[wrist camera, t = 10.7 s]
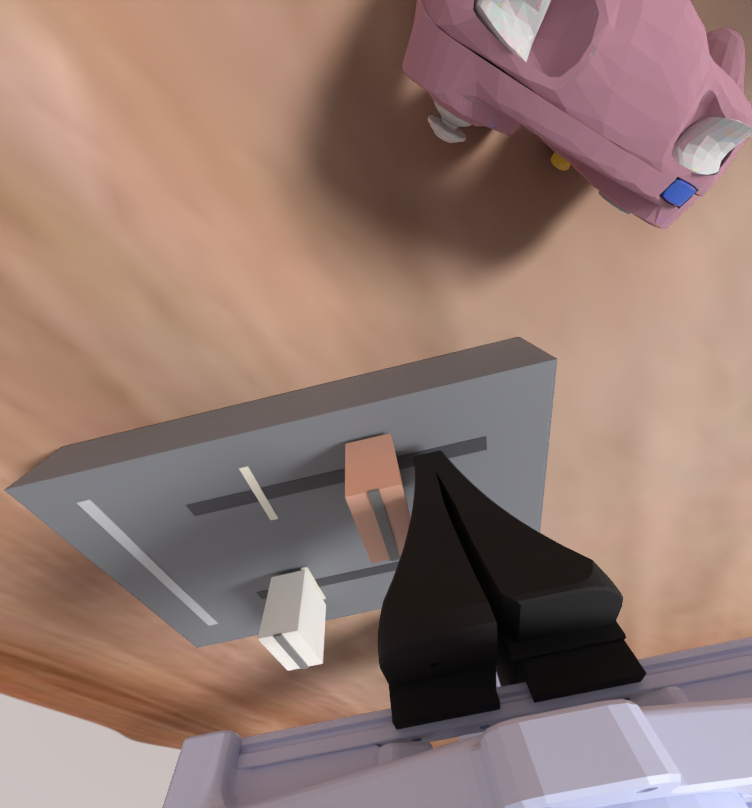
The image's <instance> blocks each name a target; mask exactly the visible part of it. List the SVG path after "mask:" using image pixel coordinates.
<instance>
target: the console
mask: <svg viewBox="0 0 752 808" xmlns="http://www.w3.org/2000/svg"><path fill="white" fill-rule="evenodd" d="M556 366H557V358H555V357H553V356H551V355H550V354H548V353H546V352H545V351H543V350H541V349H539V348H538V347H536V346H534V345H533V344H531V343H529V342H527V341H526V340H524V339H522V338H521V337H517V338H513V339H508V340H504V341H500V342H496V343H492V344H488V345H484V346H479V347H475V348H471V349H467V350H463V351H459V352H454V353H450V354H446V355H442V356H438V357H434V358H429V359H425V360H421V361H417V362H413V363H409V364H405V365H400V366H396V367H392V368H388V369H384V370H380V371H375V372H371V373H367V374H363V375H359V376H355V377H350V378H346V379H342V380H338V381H334V382H330V383H326V384H321V385H317V386H313V387H309V388H305V389H301V390H296V391H292V392H288V393H284V394H280V395H276V396H271V397H267V398H263V399H259V400H255V401H251V402H246V403H242V404H238V405H234V406H230V407H226V408H222V409H217V410H213V411H209V412H205V413H201V414H197V415H192V416H188V417H184V418H180V419H176V420H172V421H167V422H163V423H159V424H155V425H151V426H147V427H143V428H138V429H134V430H130V431H126V432H122V433H118V434H113V435H109V436H105V437H101V438H97V439H93V440H88V441H84V442H80V443H76V444H72V445H68V446H63V447H61V448H60V449H59V450H57V451H56V452H55V453H53V454H52V455H51V456H49V457H48V458H46V459H45V460H44V461H42V462H41V463H40V464H38V465H37V466H36V467H34V468H33V469H32V470H30V471H29V472H28V473H26V474H25V475H24V476H22V477H21V478H20V479H18V480H17V481H15V482H14V483H13V484H11V485H10V486H9V487H7V488H6V489H5V491H6V492H7V493H9V494H10V495H11V496H12V497H14V498H15V499H16V500H17V501H18V502H20V503H21V504H22V505H23V506H25V507H26V508H27V509H28V510H29V511H31V512H32V513H33V514H34V515H36V516H37V517H38V518H39V519H40V520H42V521H43V522H44V523H45V524H47V525H48V526H49V527H50V528H51V529H53V530H54V531H55V532H56V533H57V534H59V535H60V536H61V537H62V538H64V539H65V540H66V541H67V542H68V543H70V544H71V545H72V546H73V547H75V548H76V549H77V550H78V551H79V552H81V553H82V554H83V555H84V556H86V557H87V558H88V559H89V560H90V561H92V562H93V563H94V564H95V565H97V566H98V567H99V568H100V569H101V570H103V571H104V572H105V573H106V574H108V575H109V576H110V577H111V578H112V579H114V580H115V581H116V582H117V583H119V584H120V585H121V586H122V587H123V588H125V589H126V590H127V591H128V592H130V593H131V594H132V595H133V596H134V597H136V598H137V599H138V600H139V601H140V602H142V603H143V604H144V605H145V606H147V607H148V608H149V609H150V610H151V611H153V612H154V613H155V614H156V615H158V616H159V617H160V618H161V619H162V620H164V621H165V622H166V623H167V624H169V625H170V626H171V627H172V628H173V629H175V630H176V631H177V632H178V633H180V634H181V635H182V636H183V637H184V638H186V639H187V640H188V641H189V642H191V643H192V644H193V645H194V646H195V647H197V648H198V647H203V646H208V645H212V644H217V643H222V642H227V641H231V640H236V639H241V638H245V637H250V636H255V635H259V631H260V627H261V622H262V618H263V613H264V609H265V604H266V600H267V595H268V590H269V586H270V581H271V577H274V576H279V575H284V574H288V573H293V572H297V571H302V570H305V571H306V572H307V574H308V576H309V577H310V579H311V581H312V582H313V584H314V586H315V587H316V589H317V590H318V592H319V594H320V595H321V597H322V599H323V600H324V602H325V604H326V615H325V621H326V620H330V619H335V618H340V617H345V616H349V615H354V614H359V613H364V612H368V611H373V610H378V609H382V604H383V600H384V598H385V596H386V593H387V591H388V589H389V586H390V584H391V582H392V579H393V577H394V574H395V571H396V569H397V566H398V563H399V560H400V559H399V560H394V561H390V560H385V561H381V562H376V563H371V562H370V559H369V557H368V554H367V552H366V549H365V547H364V544H363V541H362V539H361V536H360V534H359V531H358V529H357V526H356V524H355V521H354V519H353V516H352V514H351V511H350V509H349V506H348V503H347V501H346V498H345V444H346V443H351V442H355V441H359V440H364V439H368V438H372V437H376V436H381V435H385V434H389V433H391V437H392V441H393V445H394V449H395V453H396V458H397V462H398V466H399V470H400V474H401V478H402V482H403V486H404V491H405V495H406V499H407V503H408V508H409V512H410V516H411V514H412V507H413V499H414V488H415V467H414V462H413V458H414V456H417V455H421V454H426V453H430V452H435V451H439V450H441V451H443V452H444V454H445V455H446V456H447V457H448V459H449V460H450V461H451V462H452V463H453V464H454V465H455V466H456V468H457V469H458V470H459V471H460V472H461V473H462V474H463V475H464V476H465V477H466V478H467V479H468V480H469V481H470V482H471V483H473V484H474V485H475V486H476V487H477V488H478V489H479V490H480V491H481V492H483V493H484V494H485V495H486V496H487V497H489V498H490V499H491V500H492V501H494V502H495V503H496V504H497V505H499V506H500V507H501V508H503V509H504V510H505V511H507V512H508V513H510V514H511V515H513V516H514V517H515V518H517V519H518V520H520V521H521V522H523V523H525V524H526V525H528V526H530V527H531V528H533V529H534V530H536V531H538V532H539V533H540V527H541V517H542V507H543V497H544V487H545V477H546V467H547V457H548V447H549V437H550V427H551V417H552V407H553V396H554V386H555V376H556Z"/></svg>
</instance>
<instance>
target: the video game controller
mask: <svg viewBox="0 0 752 808" xmlns="http://www.w3.org/2000/svg"><path fill="white" fill-rule="evenodd" d="M745 61H746V56H745V47H744V40H743V38H742V37H741V35H740V34H739V33H738V32H736V31H734V30H733V29H731V28H729V27H724V28H720V29H717V30H714V31H712V32H709V33H706V29H705V27H704V25H703V23H702V22H701V20H700V18H699V16H698V14H697V12H696V10H695V8H694V7H693V5H692V3H691V1H690V0H417V3H416V10H415V17H414V24H413V28H412V32H411V35H410V39H409V42H408V46H407V50H406V53H405V57H404V61H403V64H402V69H403V71H404V73H405V74H406V75H407V76H408V77H409V78H410V79H411V80H412V81H414V82H415V83H417V84H418V85H419V86H421V87H422V88H423V89H425V90H426V91H427V93H428V94H429V95H430V96H431V98H432V99H433V101H434V105H435V107H436V108H437V110H438V112H439V114H440V115H441V118H440V117H437V116H435V115H432V114H431V115H429V116H428V122H429V123H430V125H431V128H432V129H433V130H434V134H435V135H437V136H438V137H439V138H440V139H442V140H444V141H446V142H448V143H453V142H455V143H457V142H463V141H465V139H466V135H465V134H464V132H463V131H461V130H460V129H459V128H458V127H466V126H470V125H474V126H486V127H489V128H491V129H494V130H496V131H498V132H501V133H504V134H506V135H511V134H514V133H515V131H516V129H517V128H518V126H520V125H521V126H523V127H525V128H526V129H528V130H529V131H531V132H532V133H534V134H536V135H537V136H539V137H540V138H541V140H542V141H543V142H544V143H545V144H546V145H547V146H549V147H550V148H551V149H552V150H553V151H555V152H554V154H553V155H552V157H551V158H550V159H551V163H552V164H553V166H555V167H556V168H558V169H560V170H563V171H565V170H568V169H569V168H570V166H571V165H572V166H573V167H574V168H575V169H576V170H577V171H578V173H580V174H581V175H582V176H583V177H584V178H585V179H586V180H587V181H588V182H589V183H590V184H591V185H593V186H594V187H595V188H597V189H598V190H599V194H600V195H601V196H602V197H603V198H604V199H605V200H606V201H608V202H609V203H610V204H612V205H613V206H615V207H616V208H618V209H619V210H620V211H623V212H625V213H627V214H630V213H632V214H634V215H635V216H637V217H638V218H640V219H642V220H643V221H645V222H647V223H649V224H651V225H652V226H655V227H658V228H661V229H667V228H668V227H669V226H670V225H671V224H672V223H673V222H674V221H675V220H676V219H678V218H679V217H680V216H681V215H682V214H683V213H684V212H685V211H686V210H687V209H688V208H689V207H690V206H691V205H692V204H694V203H695V202H696V201H697V200H698V199H699V198H700V197H701V196H703V195H704V194H705V193H706V192H707V191H708V190H709V189H710V188H711V187H712V186H713V185H714V183H715V182H716V181H717V180H718V179H719V178H720V177H721V175H722V174H723V173H724V171H725V170H726V168H727V167H728V166H729V164H730V163H731V161H732V160H733V158H734V157H735V156H736V154H737V153H738V151H739V150H740V149H741V147H742V146H743V144H744V143H745V141H746V140H747V139H748V137H749V136H750V135H751V134H752V106H751V104H750V103H749V102H748V100H747V99H746V97H745V96H744V75H745Z"/></svg>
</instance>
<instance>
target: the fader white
mask: <svg viewBox="0 0 752 808" xmlns="http://www.w3.org/2000/svg"><path fill="white" fill-rule="evenodd" d="M325 615H326V604H325V602H324V600H323V599H322V597H321V595H320V594H319V592H318V590H317V589H316V587H315V586H314V584H313V582H312V581H311V579H310V577H309V576H308V574H307V572H306V571H305V570H302V571H297V572H293V573H288V574H284V575H279V576H274V577H271V581H270V586H269V590H268V595H267V600H266V604H265V609H264V613H263V618H262V622H261V627H260V631H259V636H258V640H259V641H260V642H261V643H262V644H263V645H264V646H265V647H266V648H267V649H268V650H269V651H270V652H271V654H272V655H273V656H274V657H275V658H276V659H277V660H278V661H279V662H280V663H281V664H282V665H283V666H284V667H285V668H286V669H287V670H288V671H290V670H294V669H299V668H301V669H302V670H303V669H308V668H309V666H314V665H319V664H323V651H324V633H325Z"/></svg>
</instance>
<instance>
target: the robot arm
mask: <svg viewBox="0 0 752 808" xmlns="http://www.w3.org/2000/svg"><path fill="white" fill-rule="evenodd" d="M413 462H414V467H415V488H414V499H413V507H412V514H411V519H410V524H409V528H408V533H407V537H406V540H405V544H404V548H403V551H402V554H401V557H400V560H399V563H398V566H397V569H396V571H395V574H394V577H393V579H392V582H391V584H390V586H389V589H388V591H387V593H386V596H385V598H384V600H383V604H382V610H381V615H380V622H379V629H378V654H379V664H380V669H381V671H382V672H383V674H384V676H385V678H386V680H387V682H388V684H389V691H390V702H391V709H385V710H380V711H375V712H370V713H365V714H360V715H355V716H350V717H345V718H340V719H335V720H330V721H325V722H320V723H315V724H310V725H305V726H300V727H295V728H290V729H285V730H279V731H274V732H269V733H264V734H259V735H254V736H249V737H244V738H241V737H240V736H239V735H238V734H237V733H236V732H233V731H227V730H224V731H217V732H212V733H207V734H202V735H196V736H191V737H188V738H187V739H186V740H184V742H183V745H182V749H181V752H180V755H179V758H178V761H177V764H176V767H175V770H174V774H173V776H172V780H171V783H170V786H169V789H168V792H167V795H166V798H165V801H164V804H163V807H162V808H752V637H749V638H744V639H739V640H734V641H729V642H724V643H719V644H714V645H708V646H703V647H698V648H693V649H688V650H683V651H678V652H673V653H668V654H663V655H658V656H653V657H648V658H643V659H638V660H637V658H636V657H635V655H634V654H633V652H632V651H631V649H630V648H629V647H628V645H627V644H626V642H625V641H624V639H625V638H626V636H625V633H624V632H623V630H622V629H621V628H620V626H619V625H618V623H617V622H616V619H617V617H618V614H619V612H620V609H621V607H622V601H623V596H622V594H621V592H620V591H619V590H618V589H617V587H616V586H615V585H614V583H613V582H612V581H611V580H610V578H609V577H608V576H607V575H606V574H605V573H604V572H603V571H602V570H601V569H600V568H599V567H598V565H597V564H596V563H595V562H594V561H593V560H591V559H589V558H587V557H585V556H583V555H581V554H579V553H577V552H575V551H573V550H571V549H568V548H566V547H564V546H563V545H561V544H559V543H557V542H555V541H553V540H552V539H550V538H548V537H546V536H544V535H543V534H541V533H539V532H538V531H536V530H534V529H533V528H531V527H530V526H528V525H526V524H525V523H523V522H521V521H520V520H518V519H517V518H515V517H514V516H513V515H511V514H510V513H508V512H507V511H505V510H504V509H503V508H501V507H500V506H499V505H497V504H496V503H495V502H494V501H492V500H491V499H490V498H489V497H487V496H486V495H485V494H484V493H483V492H481V491H480V490H479V489H478V488H477V487H476V486H475V485H474V484H473V483H471V482H470V481H469V480H468V479H467V478H466V477H465V476H464V475H463V474H462V473H461V472H460V471H459V470H458V469H457V468H456V466H455V465H454V464H453V463H452V462H451V461H450V460H449V459H448V457H447V456H446V455H445V454H444V452H443V451H441V450H439V451H435V452H430V453H426V454H421V455H417V456H414V458H413ZM453 737H458V739H459V741H457V742H453V743H450V744H447V745H443V746H440V747H437V748H434V749H433V747H432V745H431V744H430V743H427V742H432V741H438V740H443V739H448V738H453Z"/></svg>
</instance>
